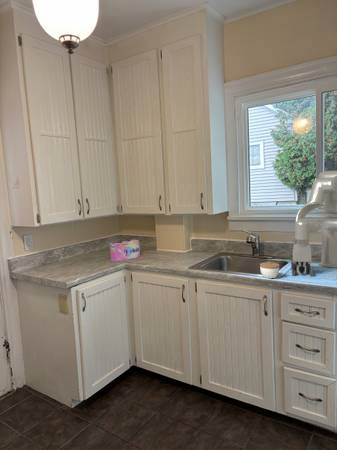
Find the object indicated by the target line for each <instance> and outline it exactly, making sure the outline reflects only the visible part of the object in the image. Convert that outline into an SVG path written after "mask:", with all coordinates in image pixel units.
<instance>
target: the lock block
mask: <svg viewBox="0 0 337 450" xmlns="http://www.w3.org/2000/svg"><path fill="white" fill-rule="evenodd" d="M302 265H303V263H301V266H302ZM296 274H297V275H307V270H306V266H305V272H303V274H302V273H300V272H299V266H298V265H297V269H296Z"/></svg>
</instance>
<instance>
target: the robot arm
mask: <svg viewBox="0 0 337 450" xmlns="http://www.w3.org/2000/svg"><path fill="white" fill-rule="evenodd" d="M323 206H324V207H323ZM321 207H323V208H324V212H325V213H326V214H328V216H323V217H322V218H321V219H320V221H319V220H317V219H309V218H305V217H306V216H307V215H308V214H309V213H310V212H311V211H314V210H317V209H319V208H321ZM329 215H330V216H329ZM331 215H333V216H331ZM334 215H337V170H325V171H324V170H323V171H321V172H320V173H319V174H318V178H316V179H314V181H313V183H312V184H311V190H310V192H309V198H308V201H307V202H306V203H305V204H303V206H302V207H301V208H300V209H299V210H298V211H297V214H296V217H295V220H294V234H295V235H294V236H295V237H294V239H293V240H292V243H294V244H293V249H292V255H293V260H292V263H296V264H297V265H298V266H299V272H300V273H302V274H301V275H304V274H303V272H305V266H306V265H307V264H310V265H311V264H312V263H313V262H312V255H313V254H312V246H311V244H310V233H317V232H319V231H321V261H320V262H319V261H318V265H319V266H320V267H323V266H324V267H325V268H337V216H334ZM300 262H303V265H302V266H301V263H300ZM324 267H323V268H324Z"/></svg>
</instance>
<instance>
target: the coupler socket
mask: <svg viewBox="0 0 337 450" xmlns="http://www.w3.org/2000/svg"><path fill="white" fill-rule="evenodd" d="M290 255H291V256H290V258H291V259H290V264H291V265H290V268H291V270H292V271H291V276H292V277H296V270H297V264H296V263H292V260H293V254H290ZM300 263H303V262H300ZM306 269H308V270H307V273H308V275H310V276H311V277H310V276H309V277H310V278H314V277H313V275H314V272H313V268H312V266H311V264H307V265H306Z"/></svg>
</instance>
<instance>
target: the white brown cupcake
mask: <svg viewBox="0 0 337 450" xmlns="http://www.w3.org/2000/svg"><path fill="white" fill-rule="evenodd" d="M259 268H260V269H259V270H260V274H261V275H262V277H263V278H264V277H265V278H264V279H266V278H274V279H276V277H277V276H279V272H280V264H279V263H277V262H271V261H267V262H261V263H260V264H259Z"/></svg>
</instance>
